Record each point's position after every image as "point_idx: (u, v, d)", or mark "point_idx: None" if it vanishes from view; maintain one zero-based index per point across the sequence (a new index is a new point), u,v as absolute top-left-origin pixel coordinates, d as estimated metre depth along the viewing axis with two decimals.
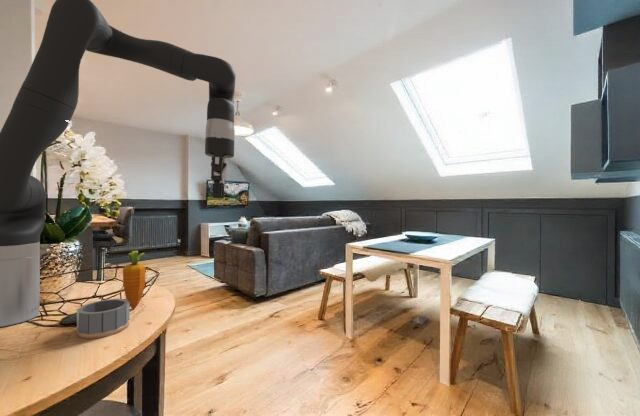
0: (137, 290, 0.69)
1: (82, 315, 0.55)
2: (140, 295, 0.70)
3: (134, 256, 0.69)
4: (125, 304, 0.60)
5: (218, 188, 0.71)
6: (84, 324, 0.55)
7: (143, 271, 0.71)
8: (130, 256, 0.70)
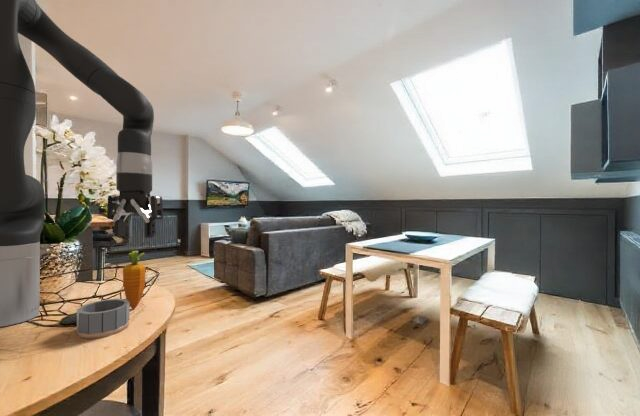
0: (137, 290, 0.69)
1: (82, 315, 0.55)
2: (140, 295, 0.70)
3: (134, 256, 0.69)
4: (125, 304, 0.60)
5: None
6: (84, 324, 0.55)
7: (143, 271, 0.71)
8: (130, 256, 0.70)
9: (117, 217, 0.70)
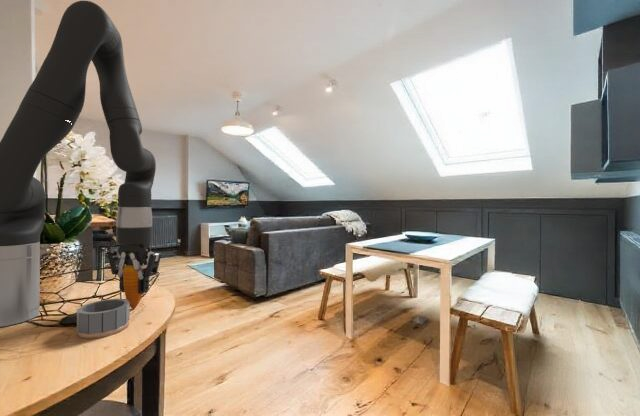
0: (137, 290, 0.69)
1: (82, 315, 0.55)
2: (140, 295, 0.70)
3: None
4: (125, 304, 0.60)
5: None
6: (84, 324, 0.55)
7: (143, 271, 0.71)
8: None
9: (122, 273, 0.70)
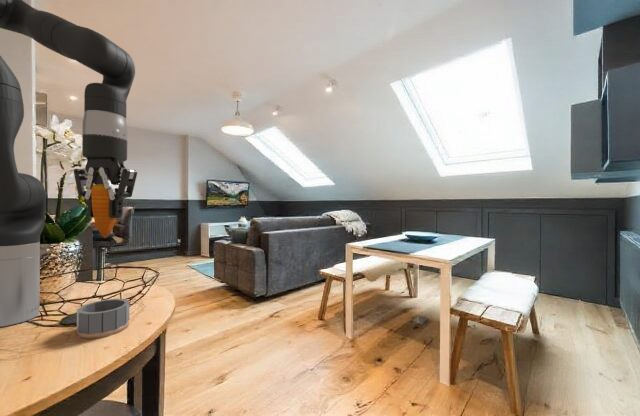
0: (108, 213, 0.58)
1: (82, 315, 0.55)
2: (112, 221, 0.59)
3: None
4: (125, 304, 0.60)
5: None
6: (84, 324, 0.55)
7: (116, 192, 0.59)
8: None
9: (90, 194, 0.58)
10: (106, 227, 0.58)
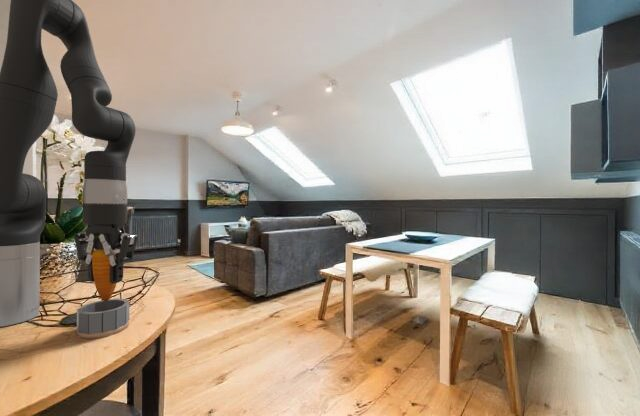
0: (109, 279, 0.58)
1: (82, 315, 0.55)
2: (113, 285, 0.59)
3: None
4: (125, 304, 0.60)
5: None
6: (84, 324, 0.55)
7: (116, 256, 0.59)
8: None
9: (91, 259, 0.59)
10: (107, 292, 0.59)
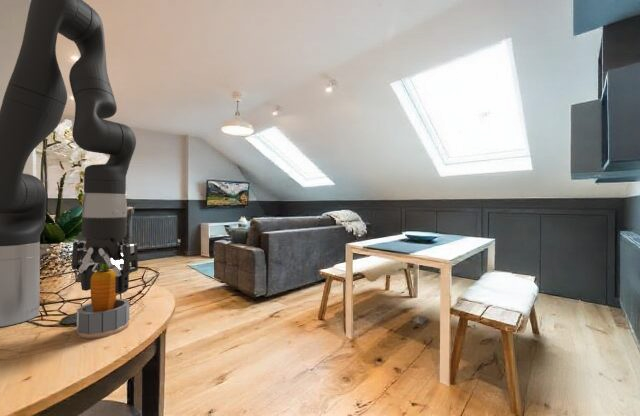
0: (106, 302, 0.58)
1: (82, 315, 0.55)
2: (110, 308, 0.59)
3: None
4: (125, 304, 0.60)
5: None
6: (84, 324, 0.55)
7: None
8: None
9: (83, 268, 0.59)
10: None
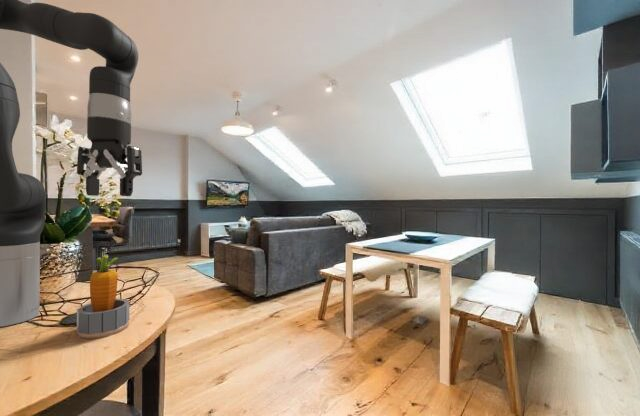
0: (106, 302, 0.58)
1: (82, 315, 0.55)
2: (110, 308, 0.59)
3: (103, 262, 0.58)
4: (125, 304, 0.60)
5: None
6: (84, 324, 0.55)
7: (114, 280, 0.59)
8: (99, 261, 0.58)
9: (88, 172, 0.60)
10: None
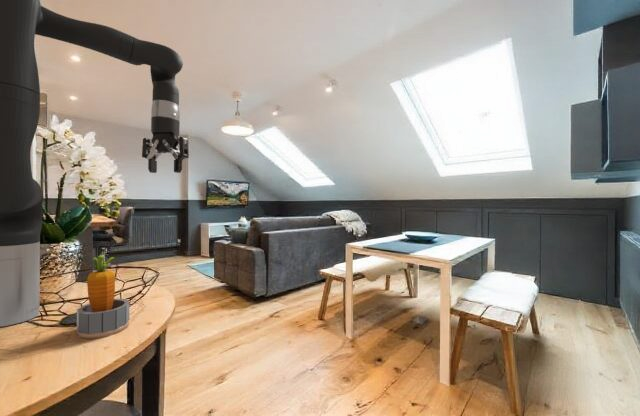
0: (104, 302, 0.58)
1: (82, 315, 0.55)
2: (109, 308, 0.59)
3: (99, 261, 0.58)
4: (125, 304, 0.60)
5: None
6: (84, 324, 0.55)
7: (111, 279, 0.59)
8: (95, 262, 0.58)
9: (150, 155, 0.84)
10: None
